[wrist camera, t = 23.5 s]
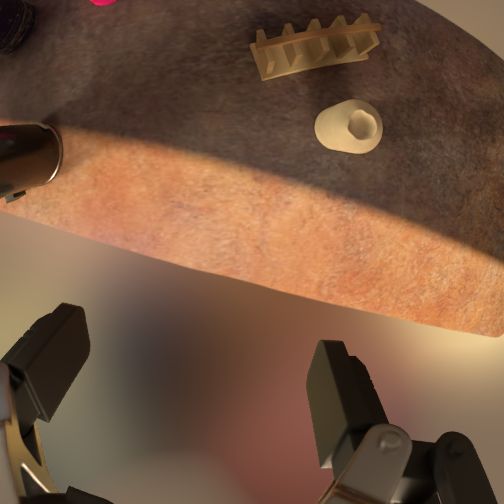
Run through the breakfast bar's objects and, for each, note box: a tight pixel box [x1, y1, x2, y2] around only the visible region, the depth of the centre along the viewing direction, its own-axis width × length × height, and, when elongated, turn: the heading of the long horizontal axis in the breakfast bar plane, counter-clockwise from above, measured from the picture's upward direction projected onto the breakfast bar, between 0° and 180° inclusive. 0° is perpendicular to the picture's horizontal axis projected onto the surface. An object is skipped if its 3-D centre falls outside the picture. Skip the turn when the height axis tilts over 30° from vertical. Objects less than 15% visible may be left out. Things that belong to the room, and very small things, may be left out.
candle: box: [315, 99, 383, 153], centre depth 30 cm, size 6×6×10 cm
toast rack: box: [250, 13, 382, 81], centre depth 27 cm, size 14×5×8 cm, turn 108°
